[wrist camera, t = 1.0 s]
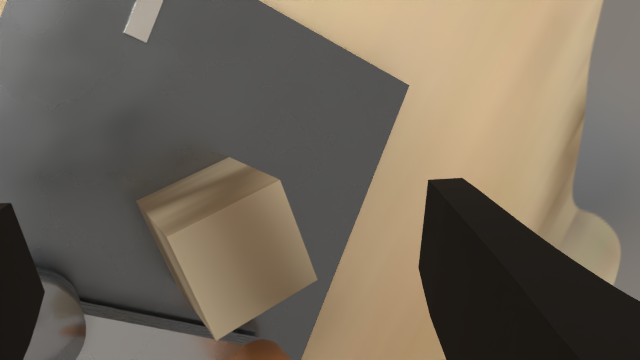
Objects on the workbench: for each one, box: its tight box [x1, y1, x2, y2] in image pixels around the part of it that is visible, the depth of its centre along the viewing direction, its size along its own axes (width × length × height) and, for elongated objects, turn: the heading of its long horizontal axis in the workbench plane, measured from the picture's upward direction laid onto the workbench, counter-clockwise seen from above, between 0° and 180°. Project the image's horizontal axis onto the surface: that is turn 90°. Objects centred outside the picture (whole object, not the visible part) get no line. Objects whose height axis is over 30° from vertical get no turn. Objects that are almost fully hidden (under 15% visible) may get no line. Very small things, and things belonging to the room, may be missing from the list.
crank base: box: [0, 0, 409, 360], centre depth 22 cm, size 18×16×1 cm
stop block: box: [136, 157, 317, 341], centre depth 20 cm, size 4×4×5 cm
